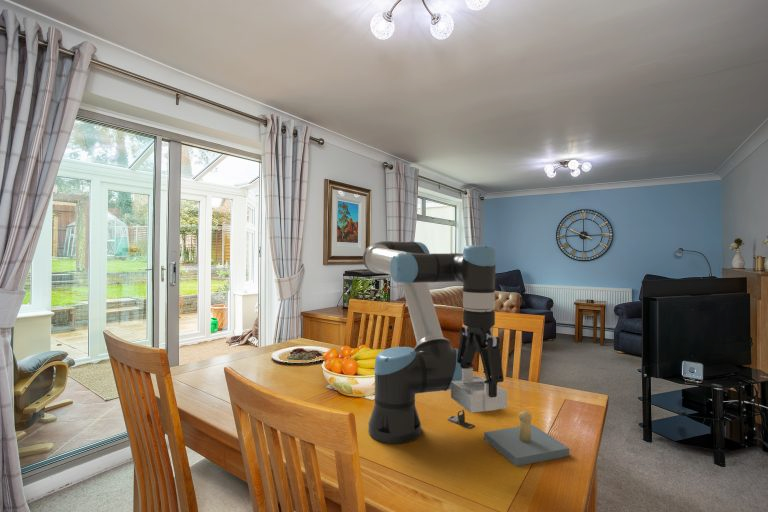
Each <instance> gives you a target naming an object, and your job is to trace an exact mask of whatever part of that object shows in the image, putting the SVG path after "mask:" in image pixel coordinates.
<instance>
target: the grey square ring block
mask: <svg viewBox="0 0 768 512" xmlns="http://www.w3.org/2000/svg"><path fill="white" fill-rule="evenodd" d="M484 381H486V377H483V378H479V379H470V380H460V381H451V389H450V398H451V399H452V400H454V401H455V402H456V403H457V404H459V405H460V406H461V407H463V408H464V410H466V411H468V412H469V413H470V414H472V413H473V414H474V413H479V412H486V411H485V410H484ZM507 408H508V390H507V389H505V388H503V387H501V386H499V385H498V384H497V397H496V410H502V409H507Z"/></svg>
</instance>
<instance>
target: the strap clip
mask: <svg viewBox="0 0 768 512" xmlns="http://www.w3.org/2000/svg"><path fill="white" fill-rule="evenodd" d="M464 410H465V409H460V410H458V411H457V416H455V415H452V416H449V417H447V421H449V422H451V423H453V424H459V425H460V427H463V428H466V429H469V430H472V429H474V428H475V427H476V425H474V424H472V423H470V422H467V421H466V415H465V411H464ZM461 412H462V413H461ZM460 413H461V414H460Z"/></svg>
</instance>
